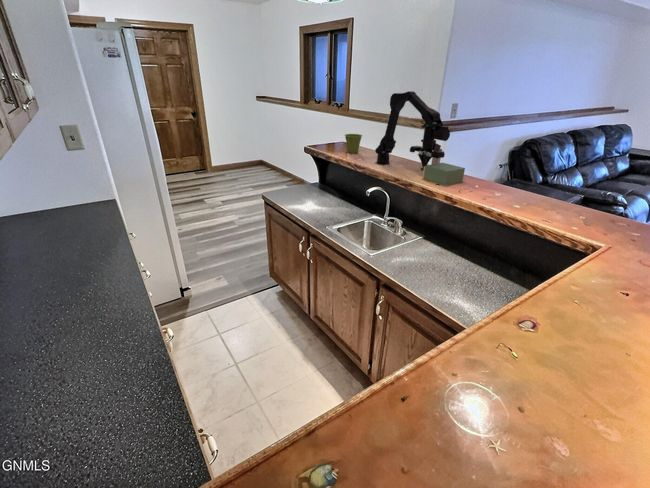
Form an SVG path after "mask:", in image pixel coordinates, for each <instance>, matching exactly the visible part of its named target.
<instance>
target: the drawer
mask: <svg viewBox="0 0 650 488" xmlns="http://www.w3.org/2000/svg"><path fill="white" fill-rule="evenodd" d="M420 171H422V178H424V172H425V167H423V166H422V167H420Z"/></svg>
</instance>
